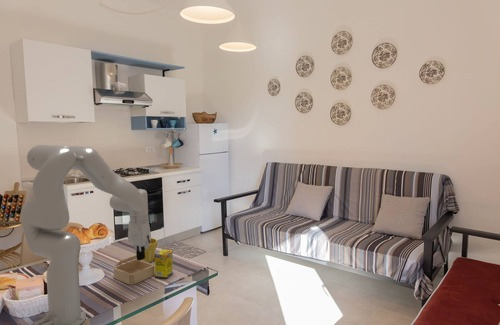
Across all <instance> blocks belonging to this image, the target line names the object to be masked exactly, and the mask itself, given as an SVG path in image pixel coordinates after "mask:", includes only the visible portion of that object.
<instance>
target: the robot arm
mask: <svg viewBox="0 0 500 325" xmlns="http://www.w3.org/2000/svg"><path fill="white" fill-rule="evenodd" d="M26 161H27V163H28V165H29V166H30V167H31V168H32V169H33V170H37V171H38V172H37V173H36V175H35V177H34V179H33V180H32V187H31V188H32V194H33V199H30V200H29V201H27V202H25V204H24V205H23V206H22V209H21V211H20V221H21V222H20V223H21V226H22V227H21V228H22V230H23V233H24V237H25V241H26V244H27V247H28V249H29V251H30V252H31V253H32V254H34V255H36V256H38V257H40V258H41V257H42V258H45V259H48V260H50V261H49V265H48V267H47V269H46V270H47V271H46V288H47V290H46V291H47V306H48V307H47V308H48V311H47V312H45V313H44V314H45V316H43V317H42V318H41V319H38V320H36V321H34V322H33V323H32V325H81V324H83V323H85V320H86V318H87V314H86V312H85V311H84V310H83V309H82V308H81V294H80V292H81V291H80V273H79V272H80V269H79V261H80V254H81V247H82V246H81V244H82V243H81V240H80V238H79V237H78V236H77V235H76V234H75V233H73V232H71V231H66V230H62V229H64V228H66V227H67V226H68V224H69V223H70V222H69V221H70V212H69V208H68V202H67V199H66V194H65V187H64V184H65V183H64V182H65V181H66V180H65V179H66V178H67V176H68V174H69V172H70V171H71V170H77V171H80V172H81V173H82V174H83V175H84V176H85V178H86V179H88V181H89V182H90V183H91V184H92V185H93V186H94V187H95V188H96V189H98V190H100V191H101V192H104V193H107V194H110V195H112V196H111V197H110V199H109V206H110V208H111V209H112V210H114V211H116V212H117V211H118V212H125V213H129V221H128V226H127V229H128V230H127V241H128V243H129V244H131V245H133V246H134V250H135V251H136V254H135V255H137V258H136V259H137V260H139V261H140V260H142V259H145V250H146V249H148V248H150V246H149V244H150V243H151V238H152V237H151V236H152V235H151V234H152V232H151V227H150V222H149V205H148V204H149V203H148V202H149V201H148V192H147V190H146V189H142V188H137V187H136V186H135V184H133V183H131V182H130V181H128V180H127V179H126V178H124V177H122V176H121V175H119V174H117V173H116V172H115V171H114V170H113V169H112V167H110V165H109V164H108V163H107V162H106V161H105V159H104V158H103V157H102V155H100V154H99V152H98V151H97V150H96V149H95V148H93V147H91V146H79V145H78V146H77V145H49V144H48V145H47V144H45V145H44V144H38V145H35V146H32V148H30V149H29V151H28V152H27V155H26Z"/></svg>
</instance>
